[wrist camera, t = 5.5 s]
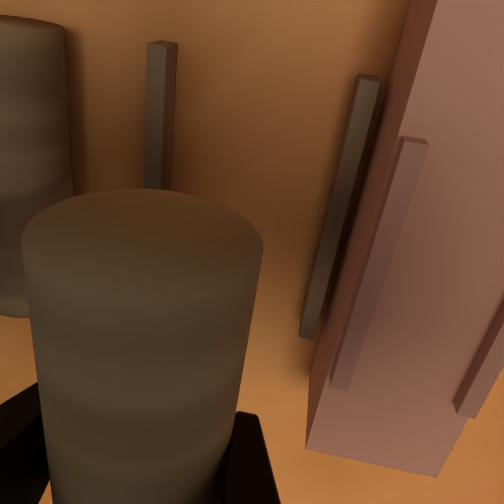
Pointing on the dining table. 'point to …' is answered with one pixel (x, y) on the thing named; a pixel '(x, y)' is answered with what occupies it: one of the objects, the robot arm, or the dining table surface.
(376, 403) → the stop beam
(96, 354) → the roller
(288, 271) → the dining table surface
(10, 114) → the roller bed
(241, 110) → the dining table surface
